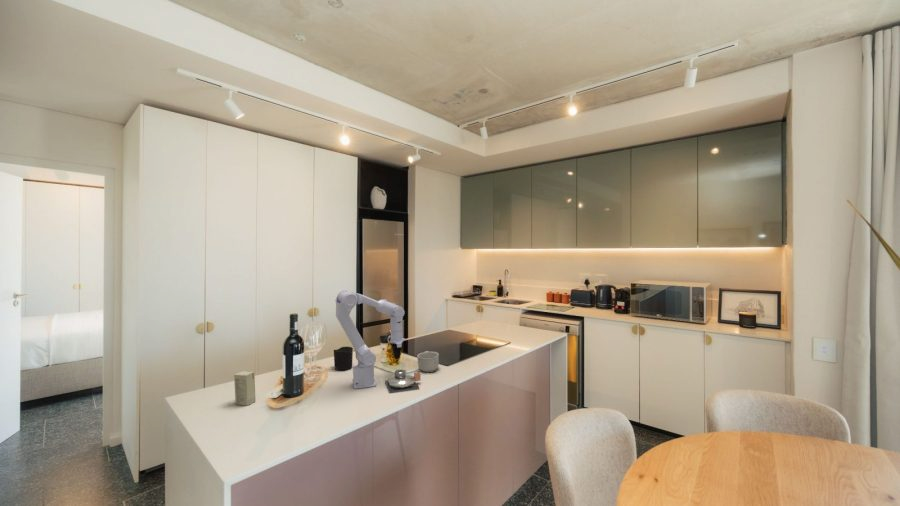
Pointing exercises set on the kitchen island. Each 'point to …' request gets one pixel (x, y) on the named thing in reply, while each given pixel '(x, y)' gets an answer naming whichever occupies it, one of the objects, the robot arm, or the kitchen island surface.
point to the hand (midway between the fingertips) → (396, 358)
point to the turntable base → (394, 389)
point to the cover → (400, 374)
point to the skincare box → (244, 388)
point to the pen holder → (343, 358)
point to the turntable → (404, 380)
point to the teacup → (428, 361)
